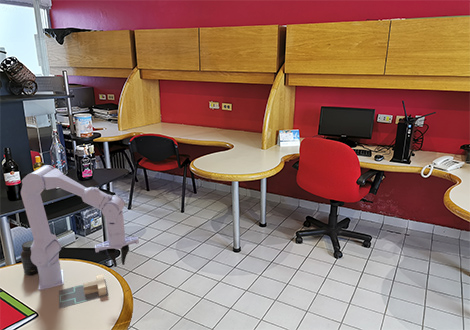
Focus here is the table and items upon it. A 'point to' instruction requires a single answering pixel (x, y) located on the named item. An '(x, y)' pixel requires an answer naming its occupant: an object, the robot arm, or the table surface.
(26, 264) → the supplement bottle
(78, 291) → the mat
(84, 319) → the table surface
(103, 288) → the t block
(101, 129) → the table surface
